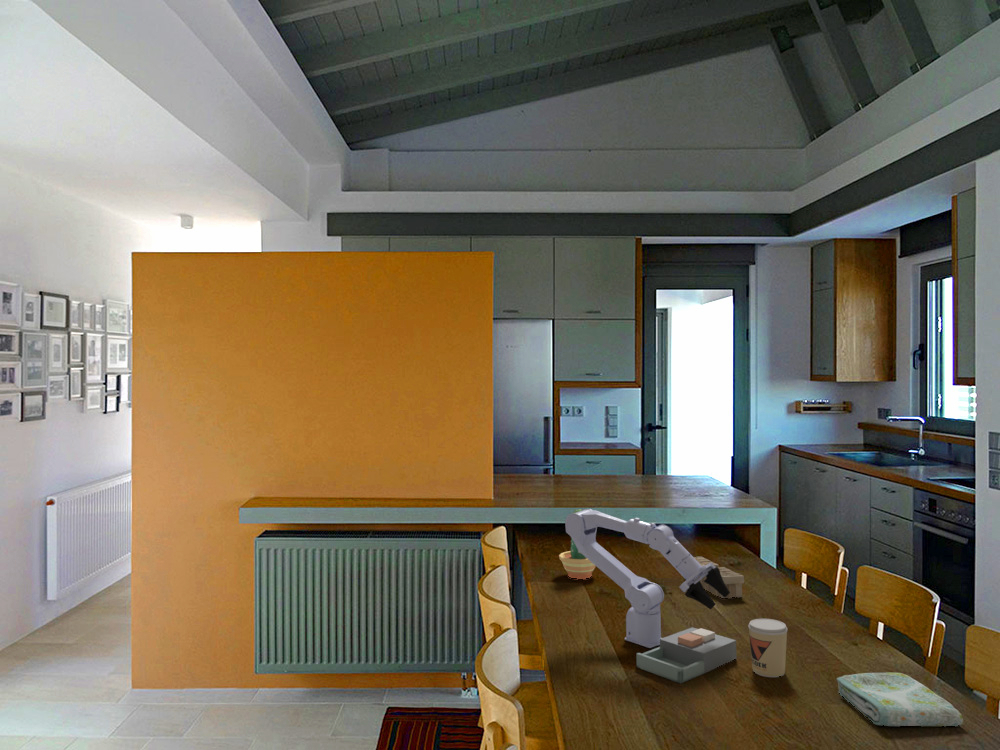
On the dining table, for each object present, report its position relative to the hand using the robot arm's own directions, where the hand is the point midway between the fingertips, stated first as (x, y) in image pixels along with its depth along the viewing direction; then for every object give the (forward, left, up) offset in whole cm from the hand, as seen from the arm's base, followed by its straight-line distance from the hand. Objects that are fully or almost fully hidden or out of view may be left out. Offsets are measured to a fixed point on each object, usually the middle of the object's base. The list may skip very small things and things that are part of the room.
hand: (720, 601), depth 202 cm
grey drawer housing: (-3, -6, -15) cm, 16 cm away
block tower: (-40, +53, -15) cm, 68 cm away
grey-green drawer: (-3, -17, -15) cm, 23 cm away
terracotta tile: (-3, -9, -10) cm, 14 cm away
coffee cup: (+14, +1, -15) cm, 20 cm away
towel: (+44, +3, -16) cm, 46 cm away
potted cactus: (-82, +29, -15) cm, 89 cm away
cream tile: (-3, -3, -10) cm, 11 cm away
